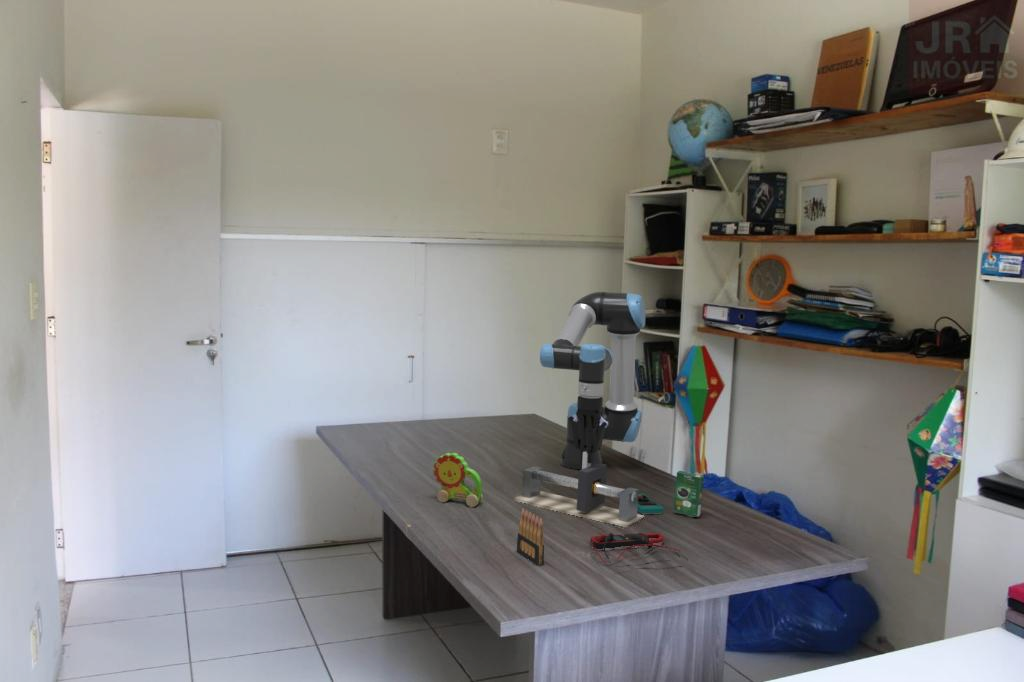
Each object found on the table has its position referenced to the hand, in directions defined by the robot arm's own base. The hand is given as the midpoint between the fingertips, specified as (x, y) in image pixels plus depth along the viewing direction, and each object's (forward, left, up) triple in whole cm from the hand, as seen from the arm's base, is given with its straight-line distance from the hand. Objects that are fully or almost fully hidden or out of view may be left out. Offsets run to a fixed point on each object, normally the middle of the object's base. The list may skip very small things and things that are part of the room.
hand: (586, 472), depth 256 cm
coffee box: (-18, +26, -12) cm, 34 cm away
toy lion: (+19, -34, -12) cm, 41 cm away
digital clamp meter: (+23, +29, -13) cm, 39 cm away
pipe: (0, -2, -12) cm, 12 cm away
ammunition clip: (+43, +9, -12) cm, 45 cm away
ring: (0, +2, -10) cm, 10 cm away
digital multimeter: (-16, +12, -13) cm, 24 cm away
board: (0, -2, -12) cm, 12 cm away
